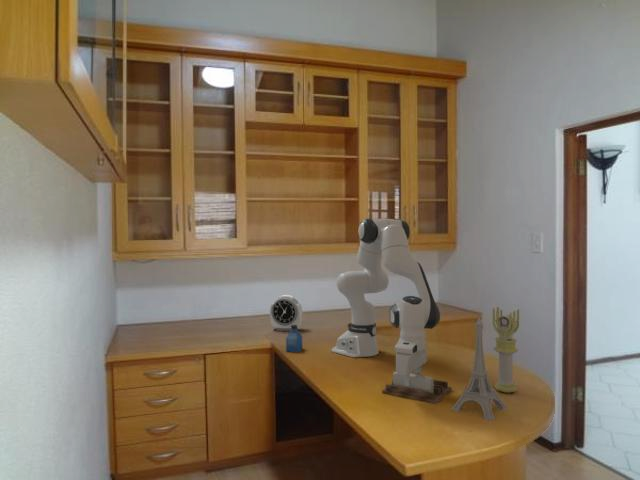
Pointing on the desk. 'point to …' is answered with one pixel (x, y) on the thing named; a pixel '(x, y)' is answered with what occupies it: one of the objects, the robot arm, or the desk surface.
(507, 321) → the trophy
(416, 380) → the gray rectangular block
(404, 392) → the rack
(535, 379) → the desk surface
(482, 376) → the eiffel tower
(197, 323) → the desk surface
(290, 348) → the perfume bottle
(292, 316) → the alarm clock
